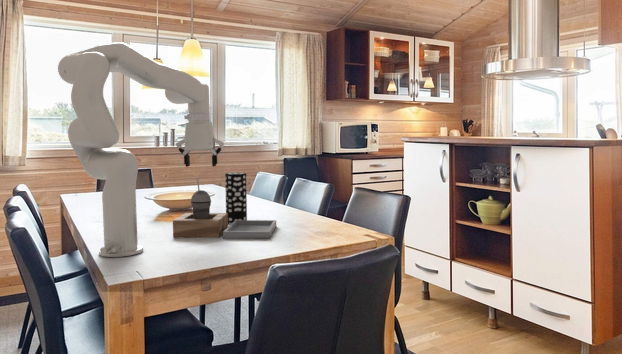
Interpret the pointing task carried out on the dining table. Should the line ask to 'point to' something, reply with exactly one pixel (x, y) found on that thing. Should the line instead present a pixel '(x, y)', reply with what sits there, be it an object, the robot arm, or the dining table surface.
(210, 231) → the walnut sleeve
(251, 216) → the dining table surface
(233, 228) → the slate tray
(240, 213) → the spotted tube
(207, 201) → the beverage cup
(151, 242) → the dining table surface
